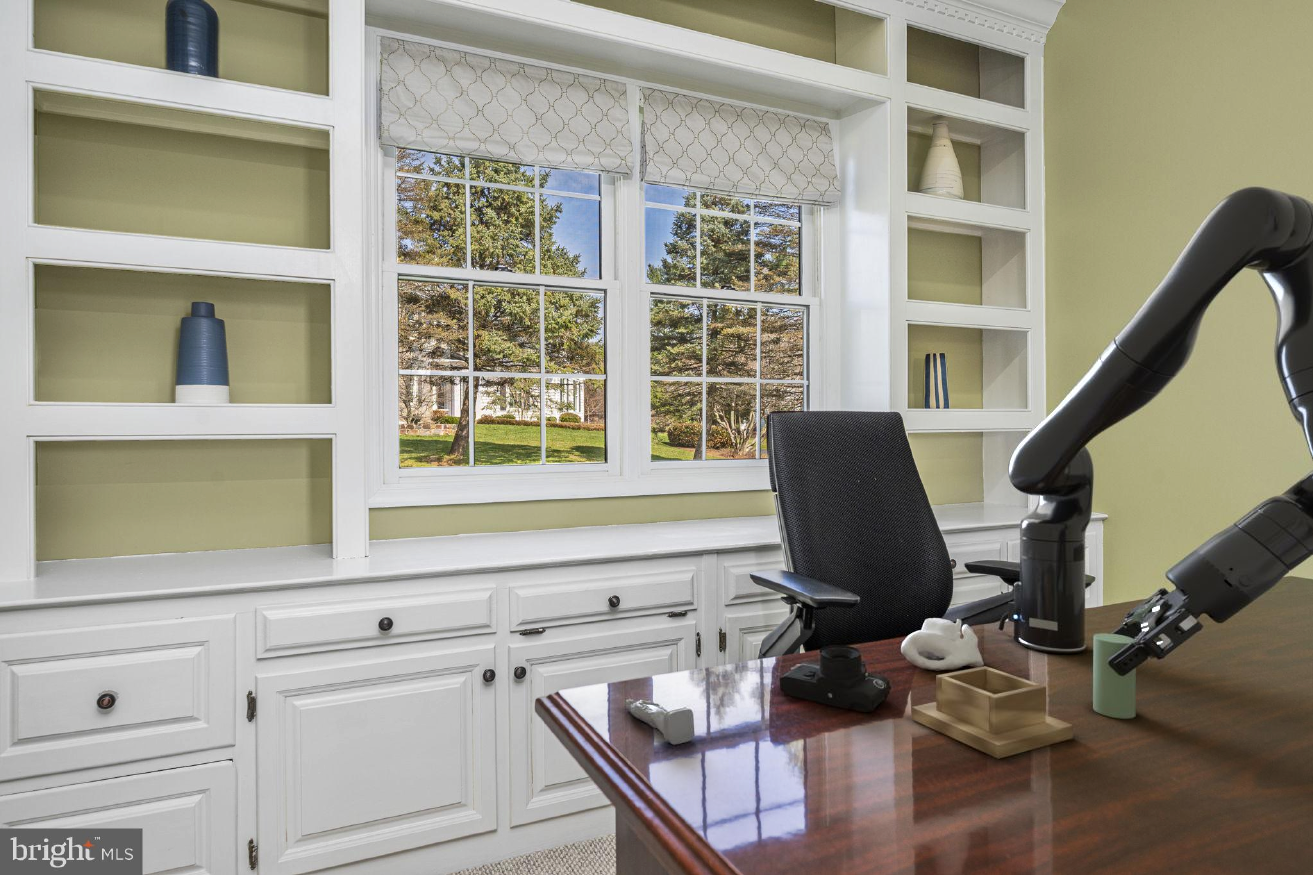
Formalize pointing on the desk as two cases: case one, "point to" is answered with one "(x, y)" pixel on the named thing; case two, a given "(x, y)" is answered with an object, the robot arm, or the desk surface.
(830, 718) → the desk surface
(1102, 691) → the green tall cylinder
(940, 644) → the white looped sculpture
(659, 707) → the figurine
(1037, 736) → the display stand
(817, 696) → the film camera
